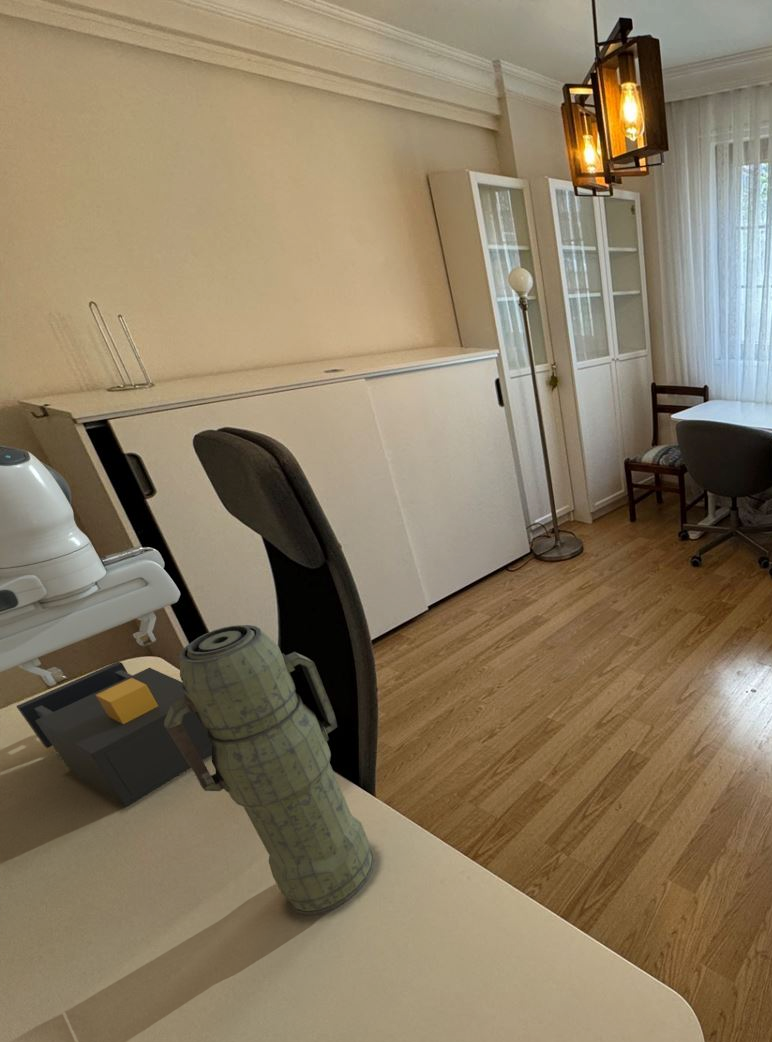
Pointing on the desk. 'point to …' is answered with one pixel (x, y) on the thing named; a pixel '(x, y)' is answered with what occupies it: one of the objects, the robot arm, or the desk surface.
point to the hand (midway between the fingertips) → (104, 661)
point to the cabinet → (124, 741)
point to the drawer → (69, 695)
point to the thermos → (273, 762)
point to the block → (127, 700)
